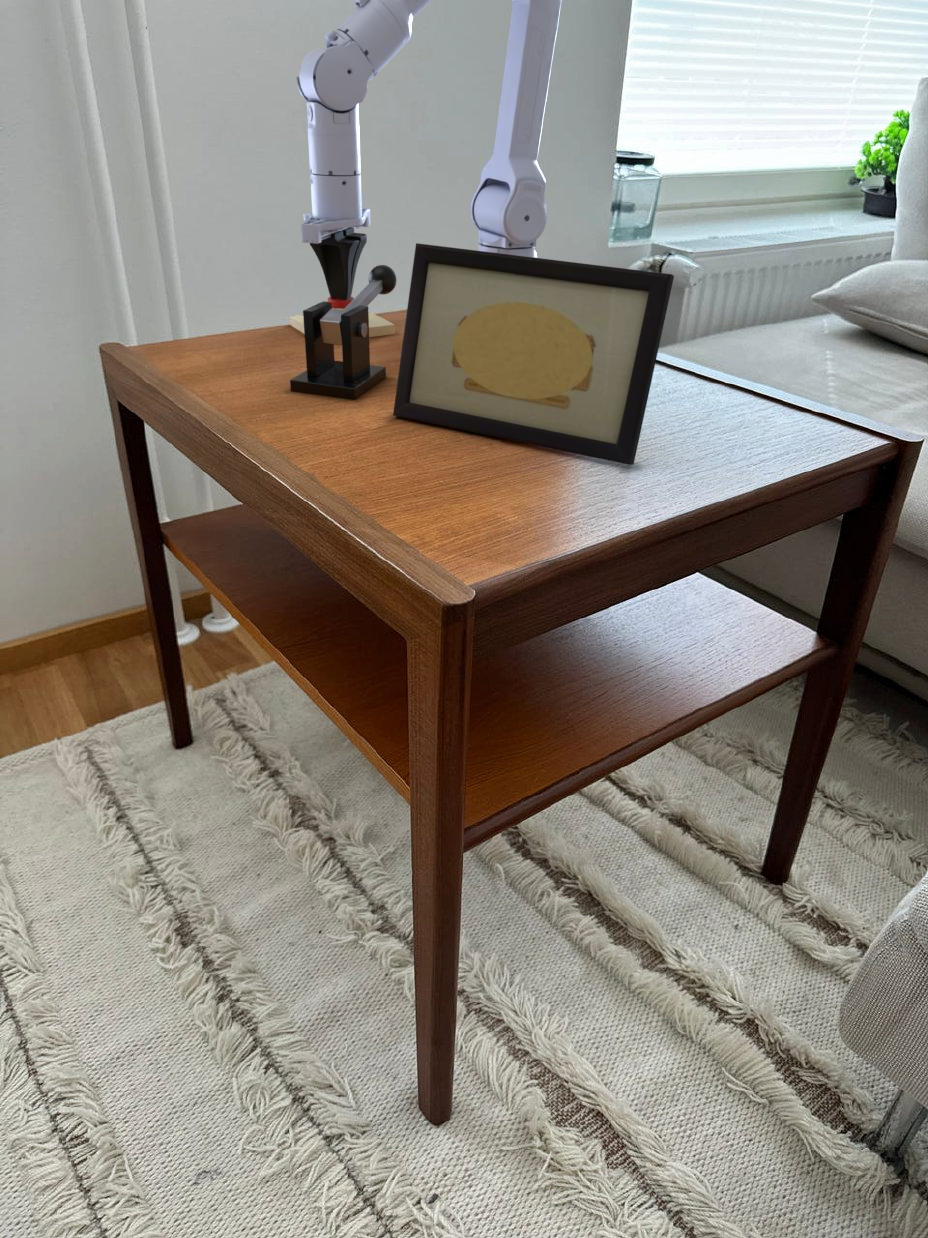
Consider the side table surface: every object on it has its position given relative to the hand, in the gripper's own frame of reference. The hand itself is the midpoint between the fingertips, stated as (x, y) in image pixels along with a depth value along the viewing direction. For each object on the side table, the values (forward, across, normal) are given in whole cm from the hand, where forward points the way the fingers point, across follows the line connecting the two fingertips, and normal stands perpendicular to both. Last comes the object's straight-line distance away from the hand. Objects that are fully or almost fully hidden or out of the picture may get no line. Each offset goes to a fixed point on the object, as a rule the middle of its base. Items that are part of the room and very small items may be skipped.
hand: (340, 298), depth 108 cm
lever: (-2, +14, +9) cm, 17 cm away
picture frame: (+4, +25, +30) cm, 39 cm away
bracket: (+4, +20, +9) cm, 22 cm away
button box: (+4, 0, 0) cm, 4 cm away
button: (+2, 0, 0) cm, 2 cm away
